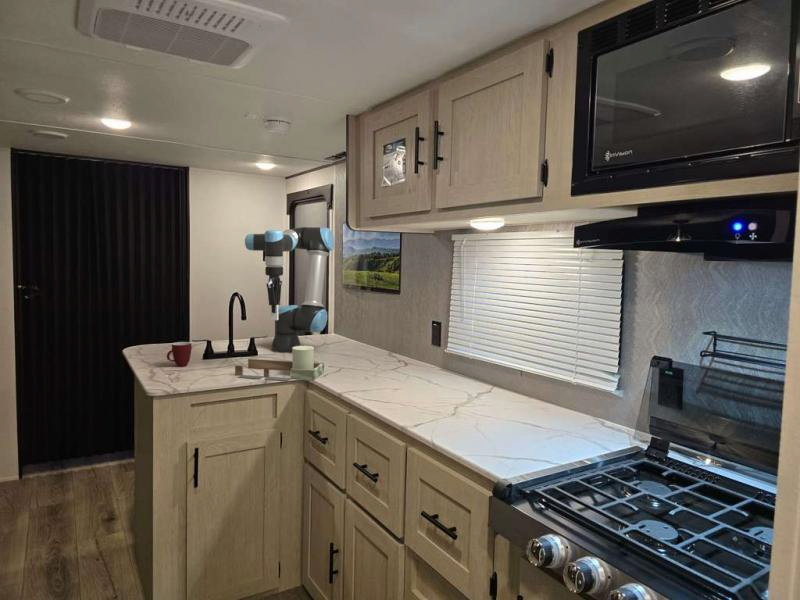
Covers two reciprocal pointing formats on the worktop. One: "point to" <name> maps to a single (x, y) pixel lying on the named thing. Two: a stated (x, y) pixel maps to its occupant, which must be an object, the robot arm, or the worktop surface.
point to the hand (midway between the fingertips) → (274, 319)
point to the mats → (265, 378)
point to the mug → (180, 353)
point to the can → (303, 357)
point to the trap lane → (282, 368)
